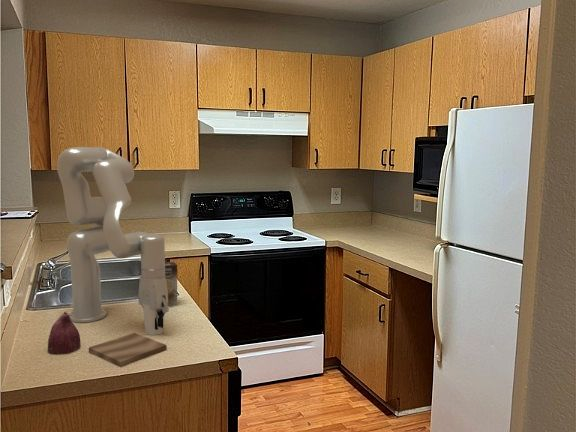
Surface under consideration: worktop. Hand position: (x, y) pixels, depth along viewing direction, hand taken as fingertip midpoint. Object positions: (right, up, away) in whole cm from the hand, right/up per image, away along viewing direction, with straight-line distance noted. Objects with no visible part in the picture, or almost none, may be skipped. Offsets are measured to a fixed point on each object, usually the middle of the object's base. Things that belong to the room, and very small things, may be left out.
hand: (154, 326), depth 170 cm
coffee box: (-4, +2, +30) cm, 30 cm away
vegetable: (-23, -4, -14) cm, 28 cm away
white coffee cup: (0, -2, 0) cm, 2 cm away
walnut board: (-4, -4, -16) cm, 17 cm away
